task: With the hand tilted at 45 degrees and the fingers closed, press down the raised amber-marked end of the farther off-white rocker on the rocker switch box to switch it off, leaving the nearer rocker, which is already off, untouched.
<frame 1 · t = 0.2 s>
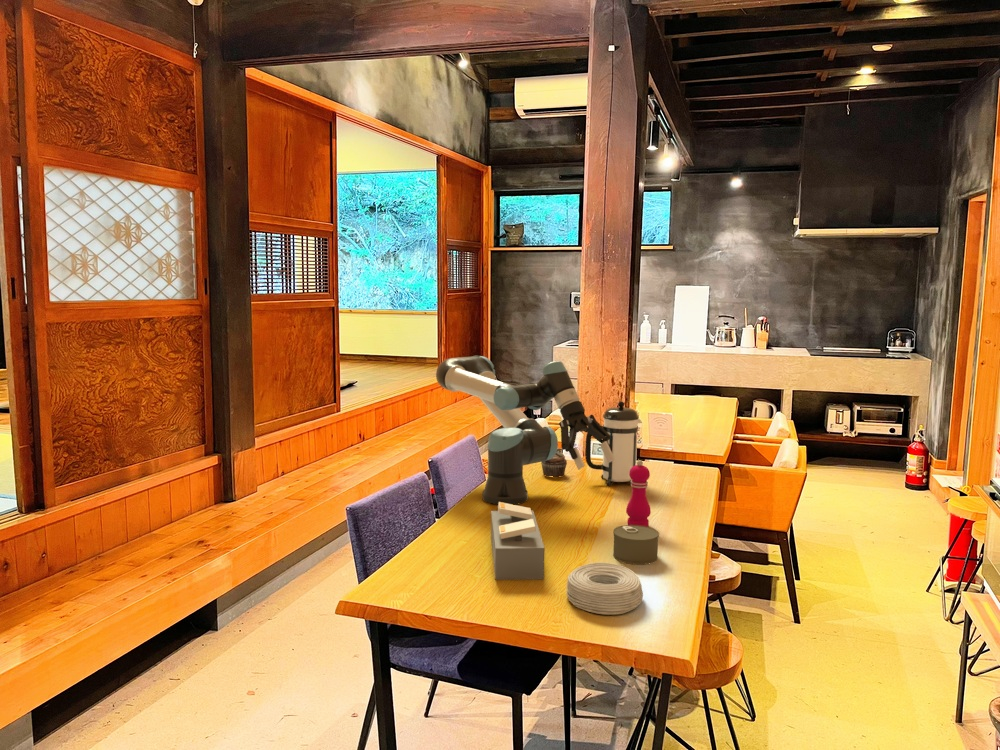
hand: (596, 464, 235), 15 cm above the table, tool tilted 35°, fingers open, 13 cm apart
rocker 2: (517, 528, 189), point 10 cm above the table, hinge at 12.0°
pepper mill: (637, 525, 225), on the table
can: (635, 557, 199), on the table
cupcake: (553, 475, 282), on the table
cable: (604, 601, 172), on the table
coffee press: (615, 483, 272), on the table
rocker switch box: (515, 557, 198), on the table
rocker 1: (514, 510, 204), point 10 cm above the table, hinge at -12.0°
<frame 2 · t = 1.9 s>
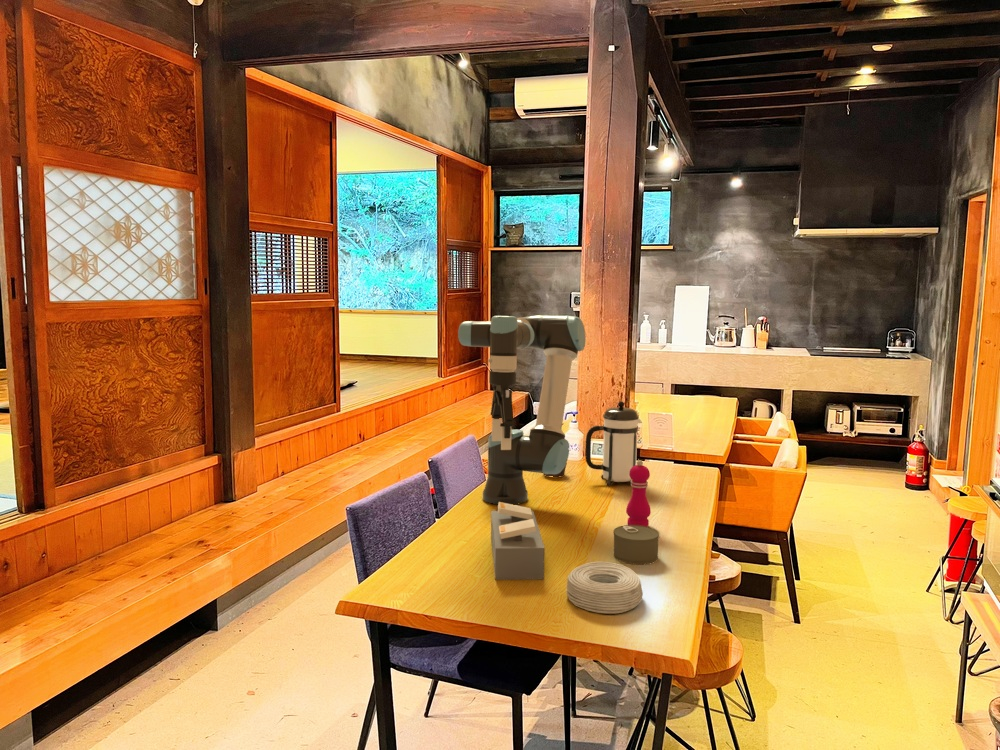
hand: (501, 445, 212), 26 cm above the table, tool pointing down, fingers open, 13 cm apart
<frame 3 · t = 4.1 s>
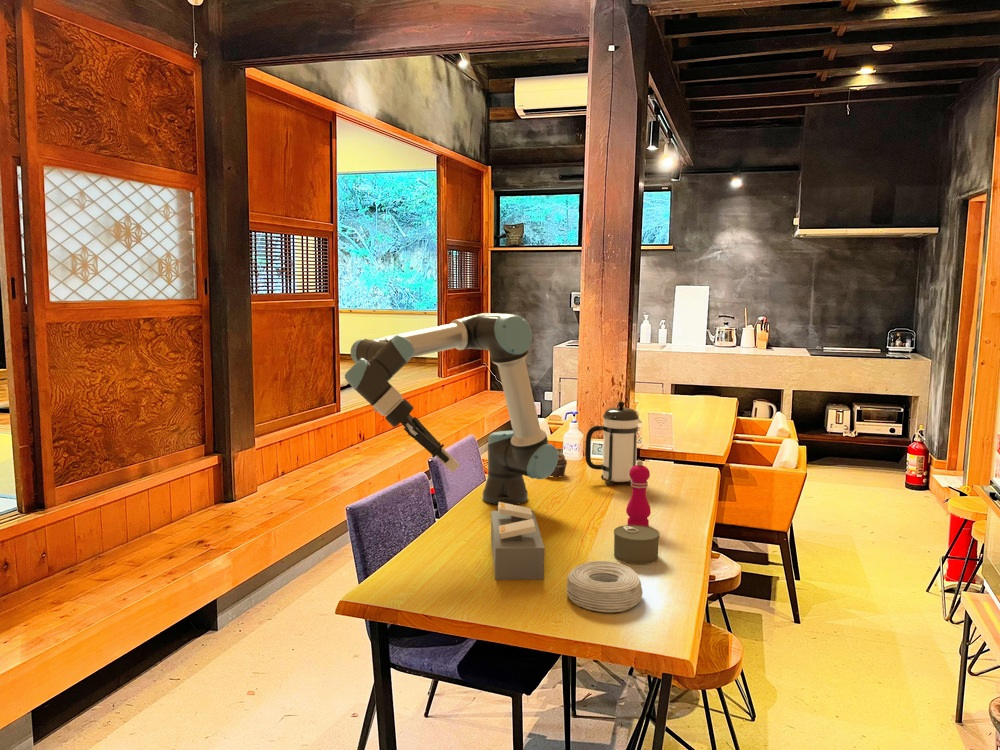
hand: (456, 468, 202), 22 cm above the table, tool tilted 45°, fingers closed
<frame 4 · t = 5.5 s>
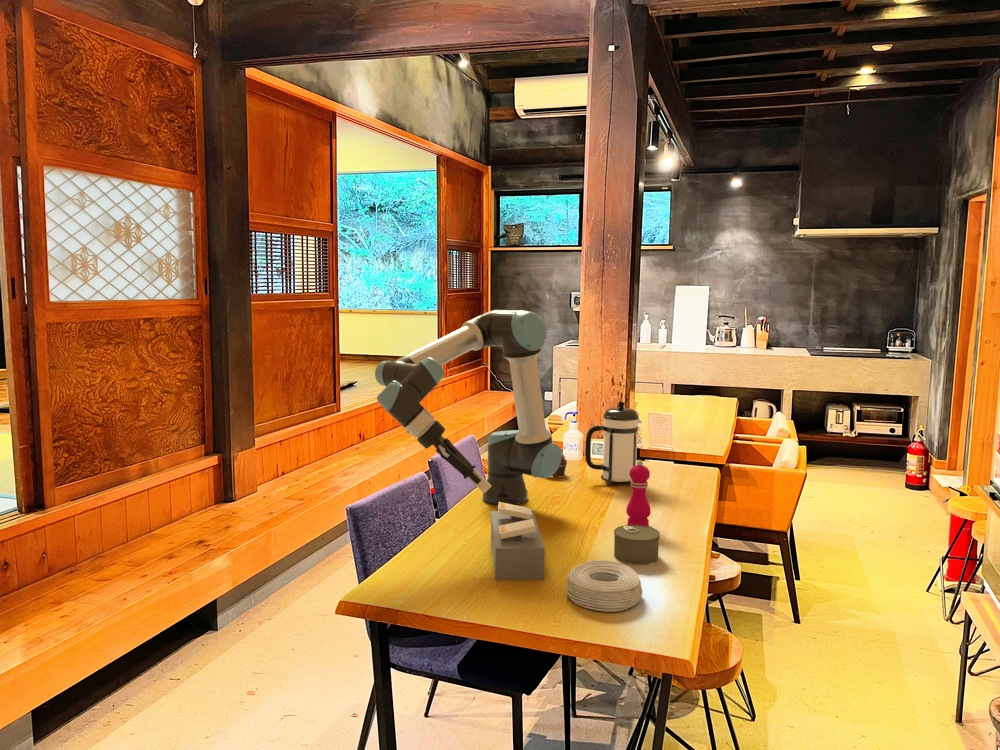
hand: (487, 489, 202), 17 cm above the table, tool tilted 45°, fingers closed
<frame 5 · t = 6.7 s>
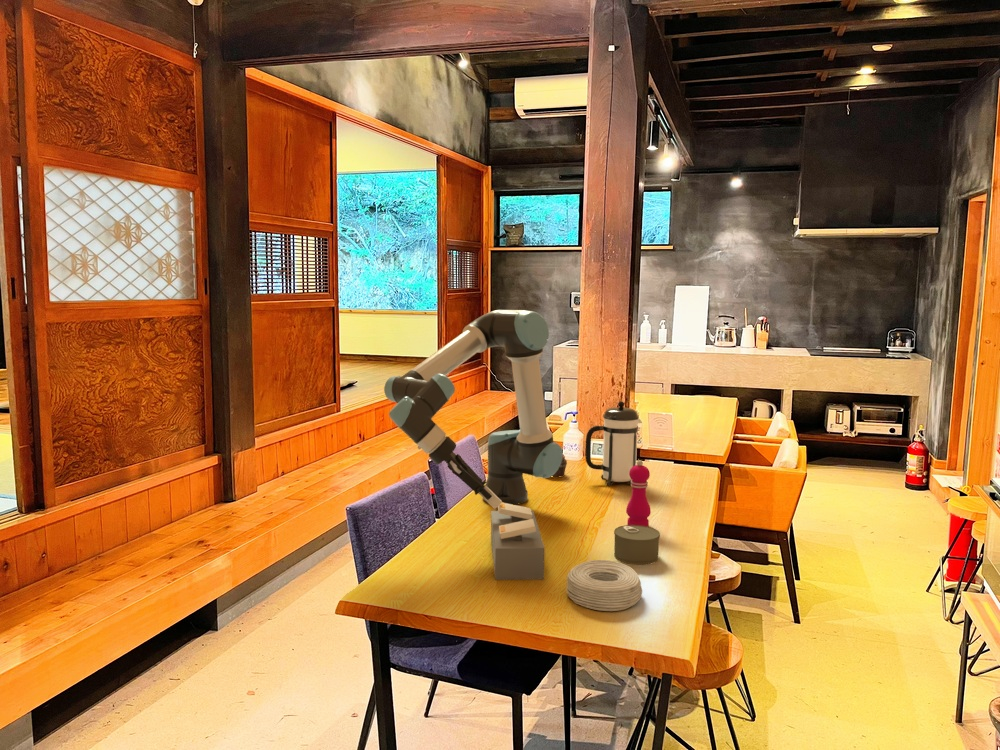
hand: (498, 505, 203), 12 cm above the table, tool tilted 45°, fingers closed
rocker 1: (514, 510, 204), point 10 cm above the table, hinge at -11.9°, touching gripper
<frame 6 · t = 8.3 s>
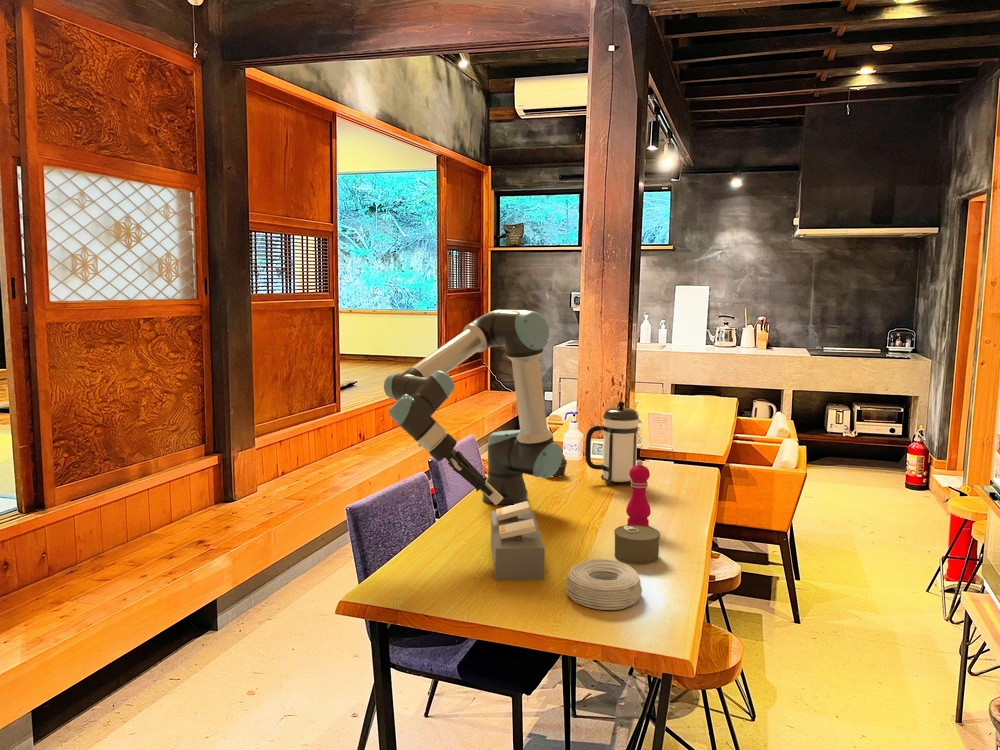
hand: (499, 501, 203), 13 cm above the table, tool tilted 45°, fingers closed
rocker 1: (513, 510, 204), point 10 cm above the table, hinge at 15.2°
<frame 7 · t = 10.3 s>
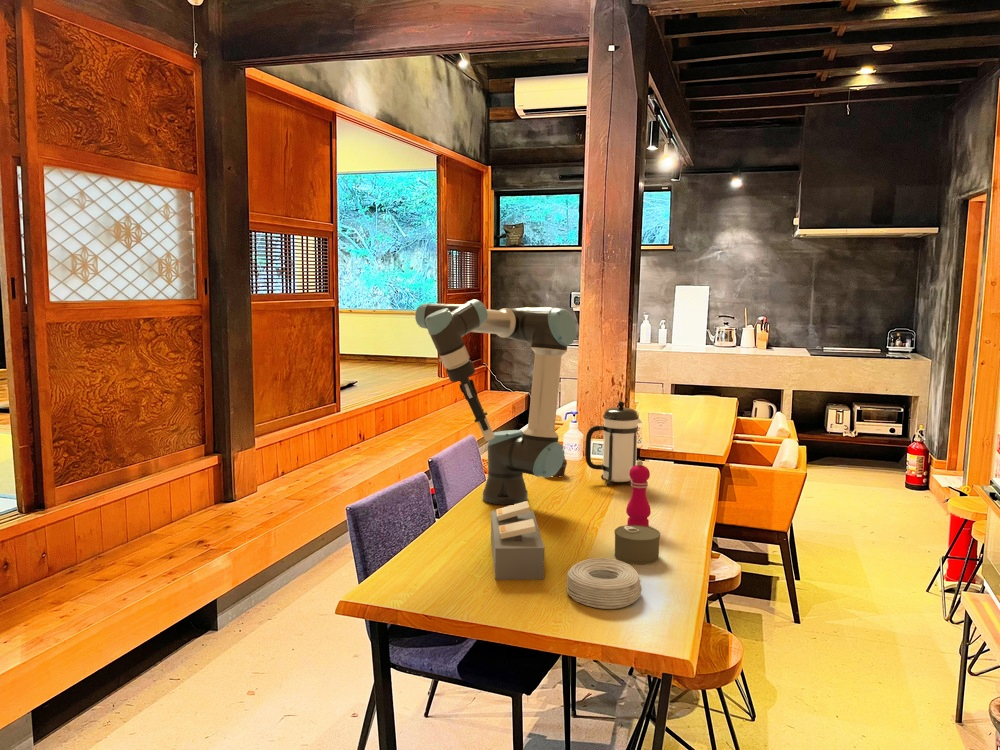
hand: (490, 438, 211), 28 cm above the table, tool tilted 25°, fingers closed
rocker 1: (513, 510, 204), point 10 cm above the table, hinge at 15.6°
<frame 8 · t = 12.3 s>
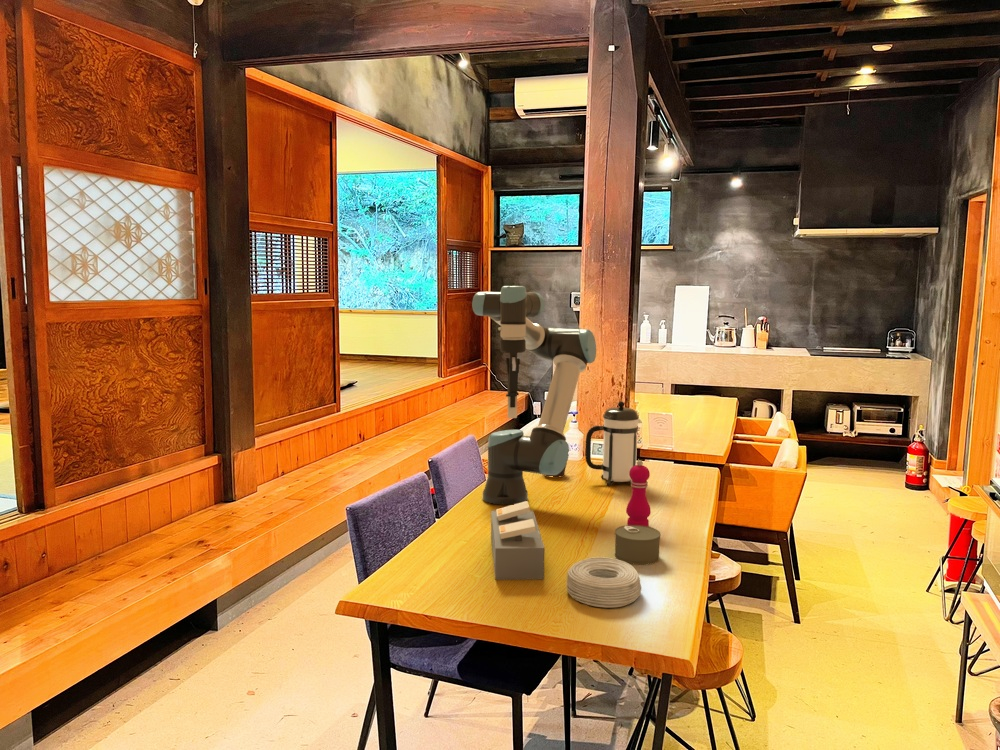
hand: (512, 417, 222), 32 cm above the table, tool pointing down, fingers closed
at the end: rocker 1 at +16° (first picture: -12°); rocker 2 at +12° (first picture: +12°) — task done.
